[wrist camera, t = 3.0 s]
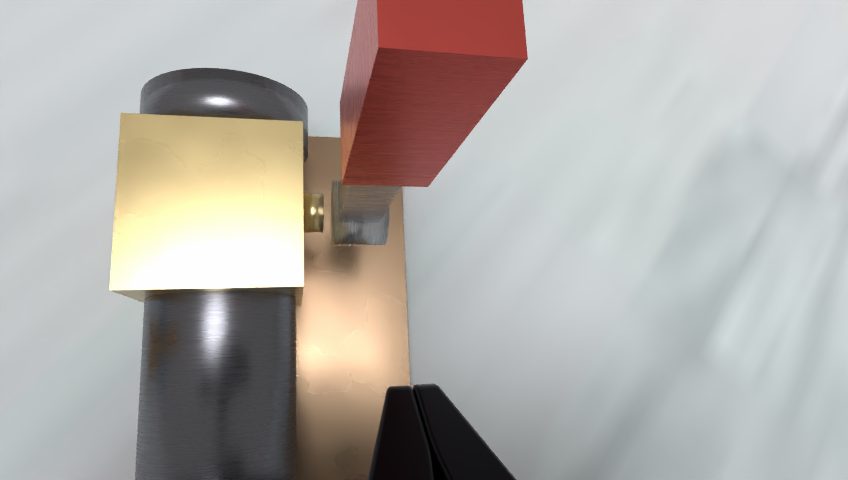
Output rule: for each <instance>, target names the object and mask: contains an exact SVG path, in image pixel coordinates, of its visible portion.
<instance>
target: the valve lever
mask: <svg viewBox="0 0 848 480" xmlns="http://www.w3.org/2000/svg"><path fill="white" fill-rule="evenodd" d="M527 59H528V57H527V46H526V36H525V25H524V14H523V3H522V0H358V2H357V8H356V13H355V19H354V25H353V31H352V36H351V42H350V48H349V54H348V59H347V65H346V71H345V77H344V83H343V88H342V94H341V100H340V126H341V178H340V181H332V188H331V239H332V245H333V246H359V245H386V242H387V238H388V232H389V206H390V205H391V203H392V201H393V200H394V198H395V197H396V195H397V193H398V192H399V190H400V189H401V187H402V186H413V187H428V186H429V185H430V184H431V182H432V181H433V180H434V178H435V177H436V176H437V175H438V173H439V172H440V171H441V169H442V168H443V167H444V166H445V164H446V163H447V162H448V160H449V159H450V158H451V157H452V155H453V154H454V153H455V151H456V150H457V149H458V148H459V146H460V145H461V144H462V143H463V141H464V140H465V139H466V137H467V136H468V135H469V134H470V132H471V131H472V130H473V128H474V127H475V126H476V125H477V123H478V122H479V121H480V119H481V118H482V117H483V116H484V114H485V113H486V112H487V110H488V109H489V108H490V107H491V105H492V104H493V103H494V101H495V100H496V99H497V98H498V96H499V95H500V94H501V92H502V91H503V90H504V89H505V87H506V86H507V85H508V84H509V82H510V81H511V80H512V78H513V77H514V76H515V75H516V73H517V72H518V71H519V69H520V68H521V67H522V66H523V64H524V63H525V62H526V60H527Z"/></svg>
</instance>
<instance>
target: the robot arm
mask: <svg viewBox="0 0 848 480" xmlns="http://www.w3.org/2000/svg"><path fill="white" fill-rule="evenodd" d="M368 480H516V479H515V478H514V477H513V475H512V474H511V473H510V472H509V471H508V469H507V468H506V467H505V466H504V465H503V463H502V462H501V461H500V460H499V458H498V457H497V456H496V455H495V454H494V452H493V451H492V450H491V449H490V448H489V446H488V445H487V444H486V443H485V442H484V440H483V439H482V438H481V437H480V436H479V434H478V433H477V432H476V431H475V430H474V428H473V427H472V426H471V425H470V424H469V422H468V421H467V420H466V419H465V417H464V416H463V415H462V414H461V413H460V411H459V410H458V409H457V408H456V407H455V405H454V404H453V403H452V402H451V401H450V399H449V398H448V397H447V396H446V395H445V393H444V392H443V391H442V390H441V389H440V387H439V386H437V385H435V384H421V385H414V386H413V387H412V388H411V387H410V386H408V385H405V386H391V387H388V389H387V391H386V395H385V400H384V405H383V410H382V414H381V419H380V424H379V428H378V433H377V438H376V443H375V447H374V452H373V457H372V462H371V466H370V471H369V476H368Z"/></svg>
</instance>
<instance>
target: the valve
mask: <svg viewBox="0 0 848 480" xmlns="http://www.w3.org/2000/svg"><path fill="white" fill-rule="evenodd" d="M340 178H341V138H333V137H308V109H307V105H306V103H305V101H304V100H303V98H302V97H301V96H300V95H299V94H297V93H296V92H295V91H293V90H292V89H290V88H289V87H287V86H285V85H283V84H281V83H279V82H277V81H274V80H271V79H269V78H266V77H263V76H259V75H256V74H252V73H247V72H242V71H236V70H229V69H219V68H192V69H182V70H176V71H171V72H168V73H164V74H161V75H159V76H156V77H154V78H153V79H151V80H149V81H148V82H147V83H146V84H145V85H144V87H143V88H142V91H141V100H140V114H133V113H121V119H120V135H119V150H118V166H117V181H116V197H115V212H114V227H113V243H112V258H111V274H110V289H109V290H110V291H113V292H116V293H118V294H121V295H124V296H127V297H130V298H133V299H135V300H138V301H141V302H144V319H143V338H142V357H141V376H140V396H139V415H138V434H137V453H136V472H135V480H368V476H369V471H370V466H371V462H372V457H373V452H374V447H375V443H376V438H377V433H378V428H379V424H380V419H381V414H382V410H383V405H384V400H385V395H386V391H387V389H388V387H391V386H405V385H408V386H410V368H409V344H408V320H407V296H406V272H405V248H404V224H403V200H402V187H401V189H400V190H399V192H398V193H397V195H396V197H395V198H394V200H393V201H392V203H391V205H390V206H389V232H388V238H387V242H386V245H359V246H333V245H332V239H331V188H332V181H340Z"/></svg>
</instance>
